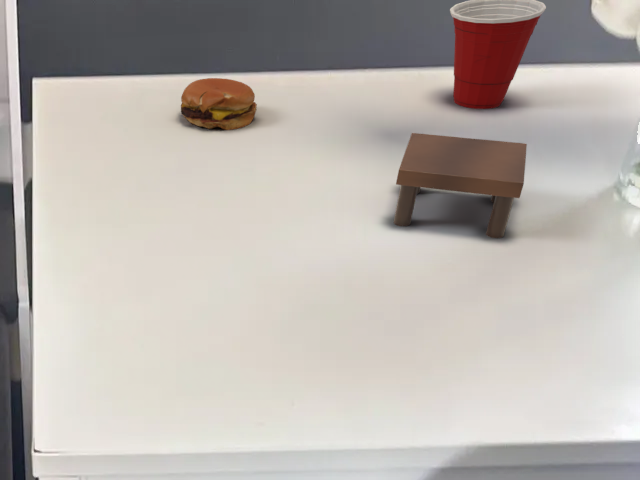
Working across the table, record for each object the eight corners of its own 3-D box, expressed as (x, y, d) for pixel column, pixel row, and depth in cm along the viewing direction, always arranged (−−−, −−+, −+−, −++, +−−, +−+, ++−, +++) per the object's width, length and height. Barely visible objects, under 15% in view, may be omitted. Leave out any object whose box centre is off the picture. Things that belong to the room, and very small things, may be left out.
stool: (511, 200, 99) (527, 143, 95) (507, 243, 91) (523, 183, 87) (400, 188, 102) (411, 132, 99) (387, 228, 94) (398, 169, 91)
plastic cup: (421, 92, 128) (440, -4, 121) (502, 90, 128) (526, -7, 120) (445, 118, 120) (467, 16, 112) (533, 116, 119) (561, 13, 112)
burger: (223, 103, 127) (226, 67, 125) (269, 122, 121) (273, 85, 118) (163, 118, 124) (164, 81, 121) (207, 138, 117) (209, 100, 114)
